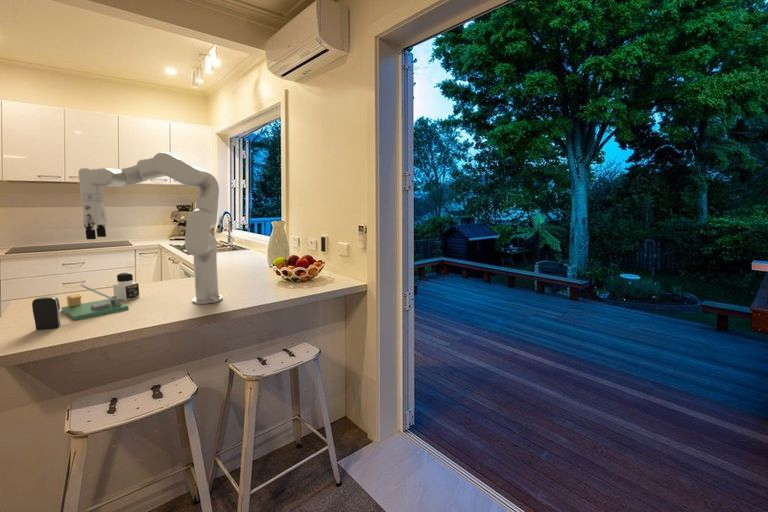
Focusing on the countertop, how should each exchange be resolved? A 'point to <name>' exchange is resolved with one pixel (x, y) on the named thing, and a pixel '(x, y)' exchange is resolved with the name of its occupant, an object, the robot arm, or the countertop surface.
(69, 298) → the tan wooden block
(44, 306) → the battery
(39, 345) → the countertop surface
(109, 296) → the grey flat bar
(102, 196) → the robot arm
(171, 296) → the countertop surface
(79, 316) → the board
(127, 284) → the medicine bottle
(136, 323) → the countertop surface
